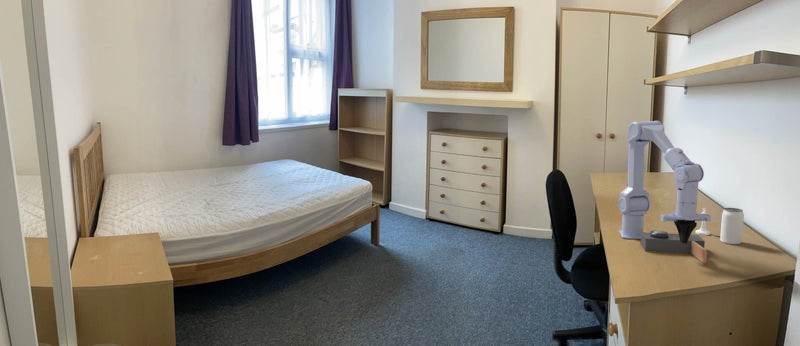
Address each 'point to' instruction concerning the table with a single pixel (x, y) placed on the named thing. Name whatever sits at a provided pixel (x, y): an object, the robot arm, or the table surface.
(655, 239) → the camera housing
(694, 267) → the table surface
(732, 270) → the table surface
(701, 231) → the chess piece
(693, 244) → the side door
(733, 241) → the can
